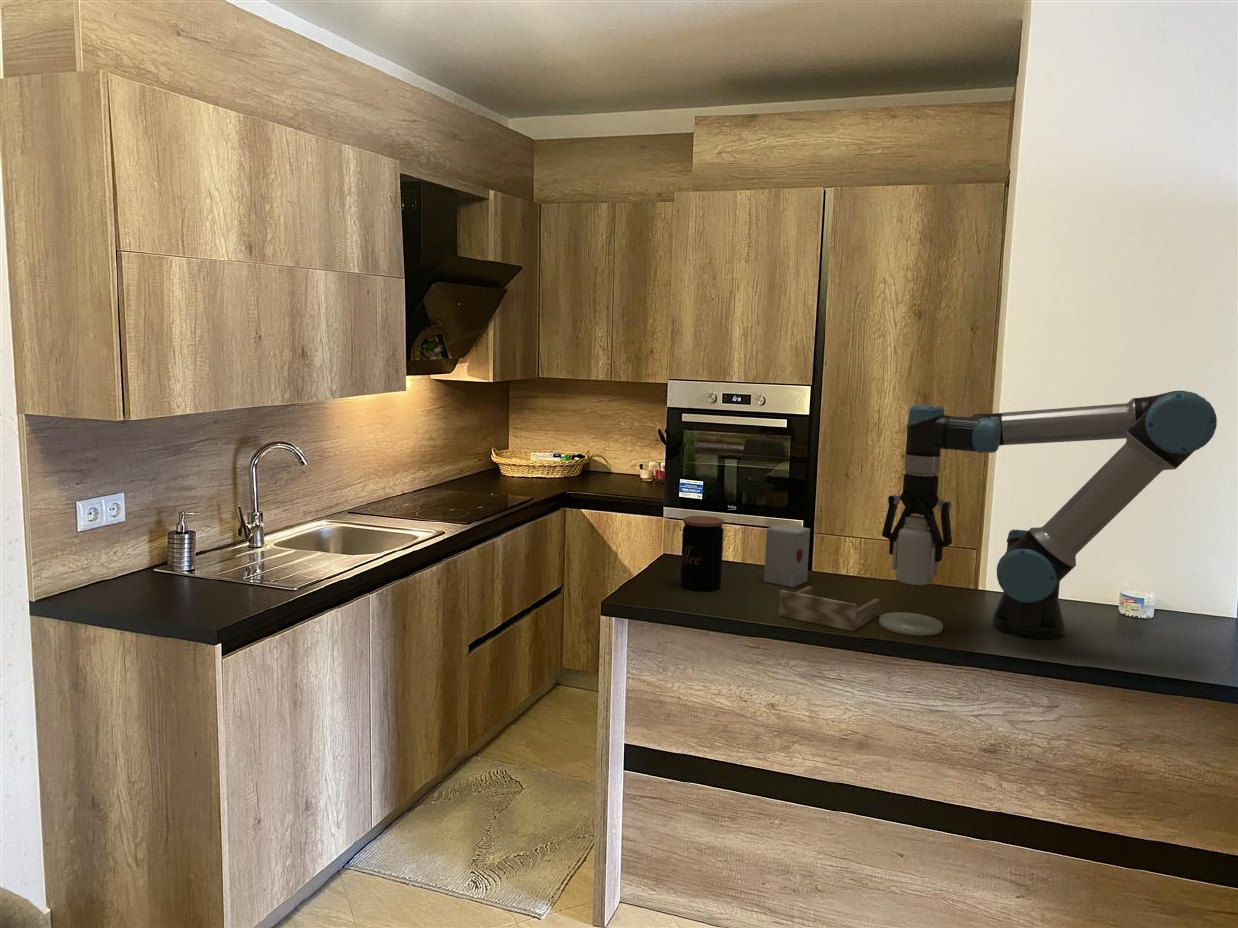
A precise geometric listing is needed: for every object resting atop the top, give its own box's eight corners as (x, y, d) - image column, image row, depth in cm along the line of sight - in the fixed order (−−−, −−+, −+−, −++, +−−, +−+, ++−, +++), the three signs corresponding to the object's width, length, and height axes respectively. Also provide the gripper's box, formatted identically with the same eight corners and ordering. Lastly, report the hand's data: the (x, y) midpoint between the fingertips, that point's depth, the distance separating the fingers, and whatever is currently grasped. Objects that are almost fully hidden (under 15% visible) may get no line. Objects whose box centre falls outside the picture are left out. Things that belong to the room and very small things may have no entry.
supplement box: (793, 588, 244) (796, 532, 242) (763, 582, 249) (765, 527, 247) (808, 581, 251) (811, 527, 249) (778, 576, 256) (781, 523, 254)
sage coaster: (950, 625, 214) (950, 620, 214) (931, 639, 203) (932, 634, 203) (891, 613, 222) (891, 608, 222) (870, 626, 211) (870, 621, 211)
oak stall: (878, 615, 220) (880, 591, 219) (853, 631, 207) (855, 605, 206) (807, 601, 231) (808, 578, 230) (778, 615, 218) (780, 590, 217)
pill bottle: (899, 575, 216) (904, 512, 215) (934, 580, 212) (940, 516, 210) (891, 581, 210) (895, 517, 208) (927, 587, 206) (932, 521, 204)
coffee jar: (674, 582, 246) (677, 516, 244) (711, 580, 249) (714, 515, 247) (689, 592, 236) (692, 523, 233) (727, 590, 239) (730, 522, 237)
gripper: (973, 477, 205) (964, 576, 208) (882, 467, 217) (875, 561, 220) (963, 480, 199) (955, 582, 202) (870, 470, 211) (864, 567, 214)
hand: (913, 571), depth 211 cm, fingers closed on pill bottle, 8 cm apart
